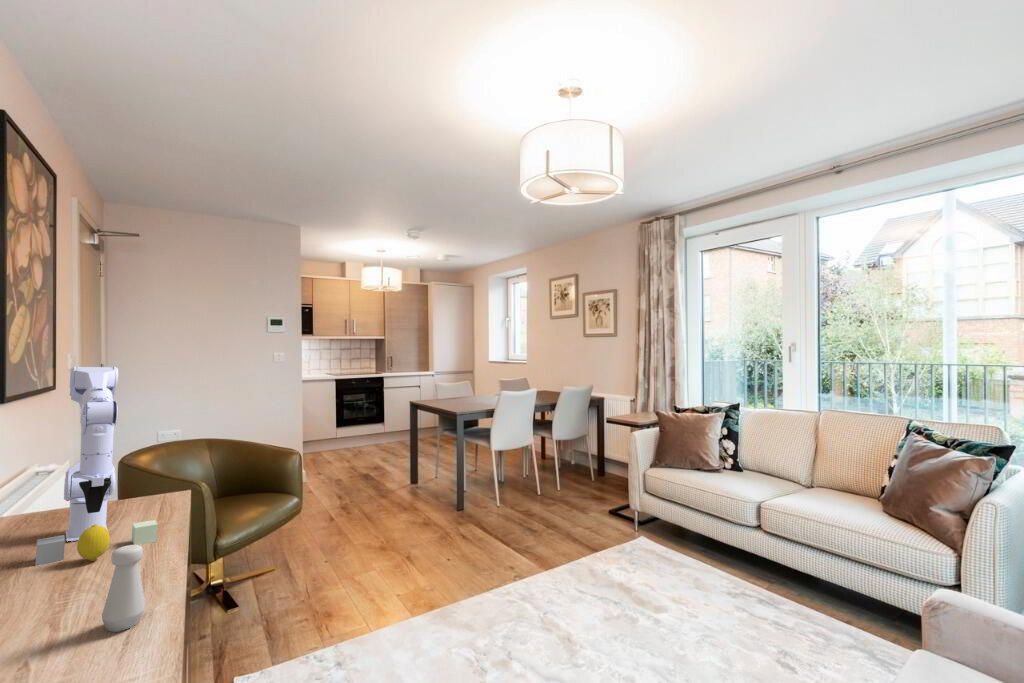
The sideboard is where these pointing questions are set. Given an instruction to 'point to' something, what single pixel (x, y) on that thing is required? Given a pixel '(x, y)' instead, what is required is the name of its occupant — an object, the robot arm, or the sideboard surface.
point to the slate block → (50, 550)
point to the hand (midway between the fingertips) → (93, 512)
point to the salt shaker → (125, 590)
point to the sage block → (144, 532)
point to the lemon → (93, 542)
